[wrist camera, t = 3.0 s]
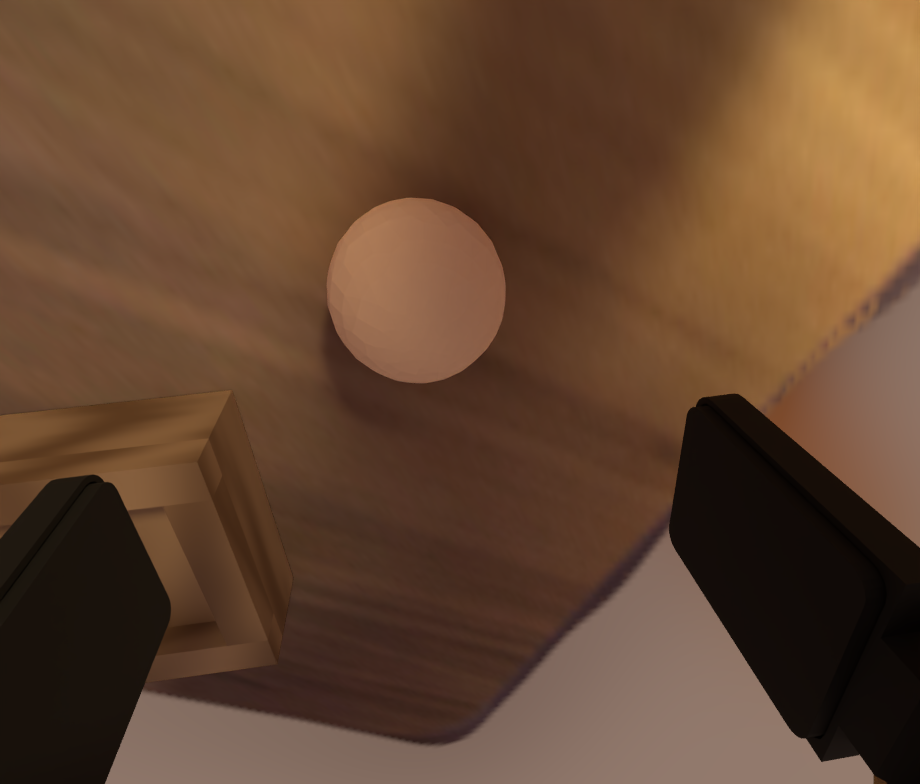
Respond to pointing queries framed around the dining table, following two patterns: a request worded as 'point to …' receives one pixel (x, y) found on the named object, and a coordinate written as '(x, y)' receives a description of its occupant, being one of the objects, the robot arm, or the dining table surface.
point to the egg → (416, 290)
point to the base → (172, 515)
